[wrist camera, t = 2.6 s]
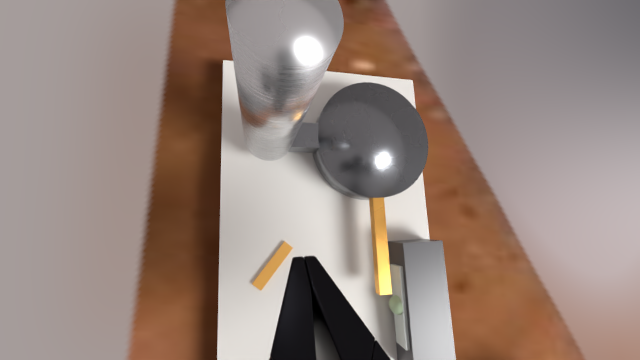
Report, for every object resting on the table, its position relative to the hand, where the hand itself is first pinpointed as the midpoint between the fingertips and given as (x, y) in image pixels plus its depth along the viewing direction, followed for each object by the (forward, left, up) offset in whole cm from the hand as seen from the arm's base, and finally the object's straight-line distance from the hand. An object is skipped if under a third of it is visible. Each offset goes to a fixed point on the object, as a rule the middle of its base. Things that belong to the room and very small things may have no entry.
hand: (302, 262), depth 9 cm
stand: (+2, -4, -9) cm, 10 cm away
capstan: (+4, -4, -7) cm, 9 cm away
